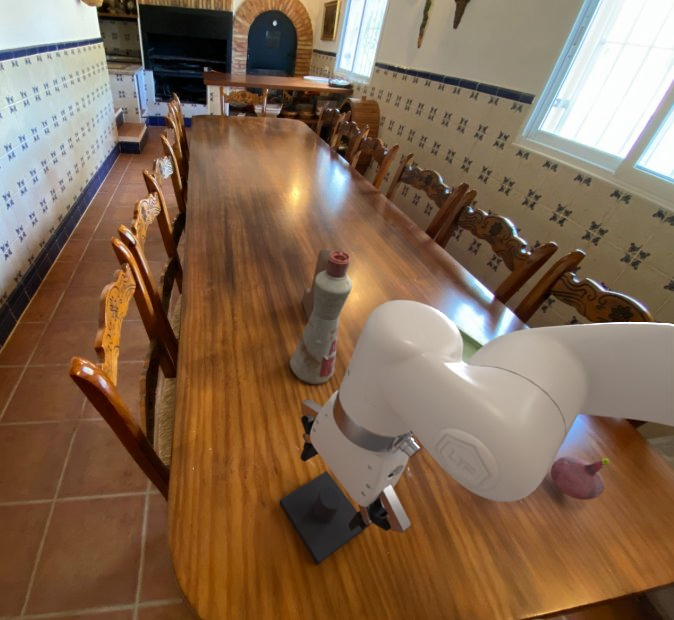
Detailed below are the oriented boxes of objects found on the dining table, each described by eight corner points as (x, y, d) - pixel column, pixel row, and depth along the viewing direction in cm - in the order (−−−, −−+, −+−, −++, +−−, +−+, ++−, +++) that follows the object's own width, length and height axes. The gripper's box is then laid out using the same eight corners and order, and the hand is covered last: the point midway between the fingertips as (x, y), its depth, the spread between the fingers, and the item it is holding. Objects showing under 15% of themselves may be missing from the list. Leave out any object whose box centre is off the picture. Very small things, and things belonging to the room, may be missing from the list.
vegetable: (569, 515, 55) (616, 486, 48) (530, 478, 59) (569, 447, 52) (591, 499, 57) (639, 469, 50) (552, 464, 61) (592, 432, 55)
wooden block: (301, 301, 91) (314, 238, 79) (318, 301, 91) (334, 239, 80) (308, 325, 84) (324, 260, 73) (327, 325, 85) (345, 261, 73)
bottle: (289, 351, 77) (312, 235, 59) (331, 356, 77) (367, 241, 59) (288, 383, 71) (314, 263, 53) (334, 389, 70) (376, 270, 52)
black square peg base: (365, 528, 51) (378, 511, 47) (316, 565, 47) (326, 549, 43) (325, 474, 57) (333, 454, 53) (279, 502, 53) (284, 484, 49)
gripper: (472, 470, 32) (403, 536, 43) (342, 343, 43) (314, 422, 54) (416, 514, 29) (357, 573, 40) (291, 365, 39) (273, 444, 51)
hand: (332, 486), depth 47 cm, fingers open, 9 cm apart
